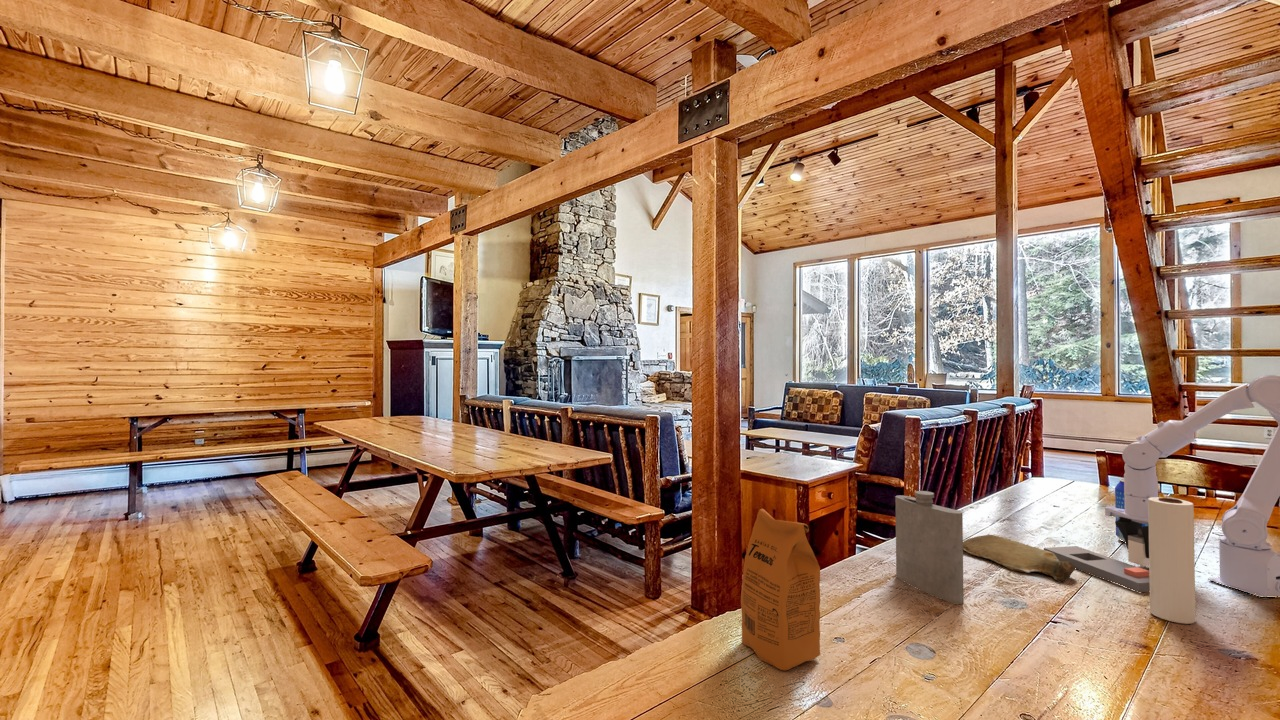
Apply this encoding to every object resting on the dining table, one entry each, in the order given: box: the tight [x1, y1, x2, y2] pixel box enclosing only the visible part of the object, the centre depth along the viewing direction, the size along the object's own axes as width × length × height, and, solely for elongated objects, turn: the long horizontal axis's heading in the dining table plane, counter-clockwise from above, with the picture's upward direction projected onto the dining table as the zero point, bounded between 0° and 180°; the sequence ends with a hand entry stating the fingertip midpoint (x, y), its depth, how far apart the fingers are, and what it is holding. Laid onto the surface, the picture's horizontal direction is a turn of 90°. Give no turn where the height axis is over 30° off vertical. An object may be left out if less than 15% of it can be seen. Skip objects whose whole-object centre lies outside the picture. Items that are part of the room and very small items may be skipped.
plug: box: [1127, 529, 1149, 567], centre depth 126 cm, size 3×4×8 cm
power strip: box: [1043, 545, 1150, 593], centre depth 123 cm, size 22×9×3 cm, turn 8°
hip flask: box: [895, 490, 965, 605], centre depth 115 cm, size 16×4×20 cm, turn 18°
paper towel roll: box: [1148, 495, 1197, 625], centre depth 101 cm, size 7×6×21 cm
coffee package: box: [740, 508, 821, 671], centre depth 90 cm, size 10×12×22 cm
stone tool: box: [963, 534, 1076, 583], centre depth 129 cm, size 12×4×25 cm
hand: (1142, 555), depth 126 cm, fingers closed on plug, 3 cm apart
